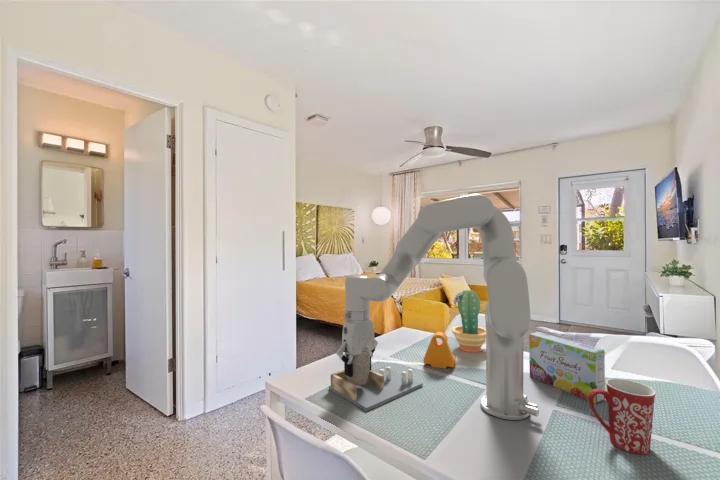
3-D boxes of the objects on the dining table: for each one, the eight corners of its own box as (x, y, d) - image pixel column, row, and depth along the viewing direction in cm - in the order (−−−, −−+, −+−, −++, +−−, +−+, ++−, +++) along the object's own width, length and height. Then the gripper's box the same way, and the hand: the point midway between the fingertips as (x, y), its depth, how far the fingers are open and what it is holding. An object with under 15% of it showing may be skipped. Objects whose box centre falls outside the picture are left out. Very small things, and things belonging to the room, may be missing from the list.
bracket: (455, 362, 128) (455, 331, 128) (453, 369, 122) (453, 336, 122) (427, 358, 132) (427, 328, 132) (423, 365, 126) (423, 333, 126)
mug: (645, 437, 80) (645, 381, 80) (664, 461, 71) (664, 398, 71) (583, 427, 84) (582, 373, 84) (594, 449, 76) (594, 389, 76)
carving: (370, 386, 102) (369, 347, 101) (345, 386, 102) (345, 347, 102) (370, 378, 108) (369, 340, 108) (346, 378, 108) (346, 340, 108)
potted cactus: (464, 340, 155) (464, 286, 155) (496, 349, 143) (496, 290, 143) (444, 348, 145) (443, 290, 145) (476, 357, 133) (476, 294, 133)
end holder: (383, 388, 104) (383, 375, 104) (353, 400, 97) (353, 386, 97) (359, 376, 113) (359, 364, 113) (330, 387, 105) (330, 374, 105)
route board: (422, 386, 108) (422, 370, 108) (366, 411, 93) (366, 393, 92) (383, 369, 122) (383, 355, 122) (328, 389, 106) (328, 373, 106)
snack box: (528, 377, 115) (528, 333, 115) (538, 374, 117) (538, 331, 117) (595, 404, 96) (595, 351, 96) (606, 400, 98) (606, 348, 98)
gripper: (342, 322, 96) (343, 384, 96) (386, 312, 107) (386, 368, 107) (327, 317, 102) (328, 376, 102) (370, 309, 113) (370, 362, 113)
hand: (358, 371), depth 105 cm, fingers closed on carving, 6 cm apart
